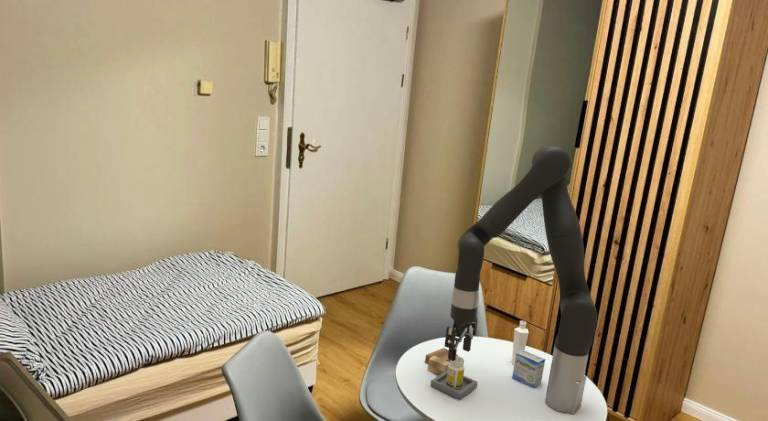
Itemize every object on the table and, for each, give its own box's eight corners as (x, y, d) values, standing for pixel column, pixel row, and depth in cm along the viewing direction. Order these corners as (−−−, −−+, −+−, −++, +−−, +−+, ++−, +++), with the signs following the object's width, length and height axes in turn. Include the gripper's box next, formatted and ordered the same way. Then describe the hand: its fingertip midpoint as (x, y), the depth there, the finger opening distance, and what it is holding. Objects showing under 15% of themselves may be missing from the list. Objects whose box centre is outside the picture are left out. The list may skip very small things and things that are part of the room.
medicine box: (511, 378, 170) (515, 352, 168) (518, 374, 173) (522, 348, 171) (534, 389, 165) (538, 362, 163) (541, 384, 168) (545, 358, 166)
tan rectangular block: (449, 374, 168) (450, 362, 168) (443, 377, 166) (445, 365, 165) (432, 367, 172) (434, 355, 171) (427, 370, 170) (428, 358, 169)
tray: (476, 387, 162) (477, 381, 162) (459, 400, 154) (460, 394, 154) (448, 375, 168) (448, 369, 168) (430, 386, 160) (431, 380, 160)
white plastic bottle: (508, 360, 182) (515, 318, 179) (521, 362, 181) (528, 320, 178) (509, 366, 177) (516, 323, 174) (523, 368, 177) (530, 325, 174)
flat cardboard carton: (456, 363, 177) (458, 355, 176) (438, 371, 171) (440, 362, 170) (442, 356, 181) (443, 347, 180) (424, 363, 175) (425, 354, 174)
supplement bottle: (461, 382, 163) (465, 356, 161) (462, 390, 159) (465, 364, 157) (445, 380, 164) (449, 354, 162) (445, 388, 159) (449, 361, 157)
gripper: (463, 313, 148) (458, 368, 151) (488, 300, 159) (482, 351, 162) (440, 305, 152) (435, 358, 155) (465, 293, 163) (460, 343, 167)
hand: (459, 355), depth 159 cm, fingers open, 8 cm apart
